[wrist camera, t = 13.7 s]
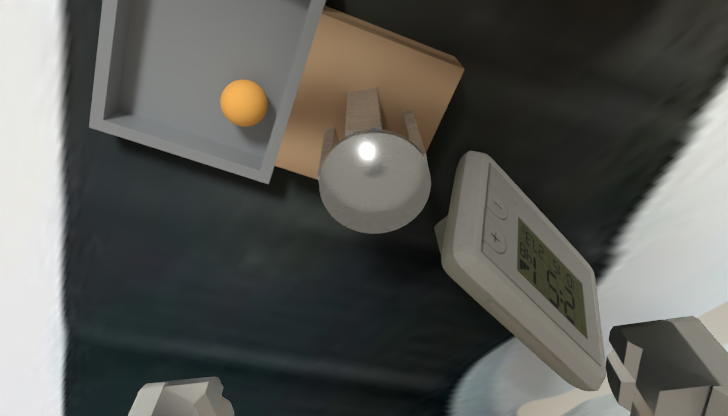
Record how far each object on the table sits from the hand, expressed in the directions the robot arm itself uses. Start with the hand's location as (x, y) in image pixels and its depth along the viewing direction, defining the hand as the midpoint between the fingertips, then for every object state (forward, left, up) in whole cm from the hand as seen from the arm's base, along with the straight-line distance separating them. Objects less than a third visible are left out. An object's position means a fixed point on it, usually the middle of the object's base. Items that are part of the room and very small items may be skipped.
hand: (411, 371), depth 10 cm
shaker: (+3, +1, -22) cm, 23 cm away
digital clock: (+8, +15, -26) cm, 31 cm away
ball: (+5, -7, -24) cm, 26 cm away
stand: (+2, 0, -26) cm, 26 cm away
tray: (+2, -10, -26) cm, 28 cm away
